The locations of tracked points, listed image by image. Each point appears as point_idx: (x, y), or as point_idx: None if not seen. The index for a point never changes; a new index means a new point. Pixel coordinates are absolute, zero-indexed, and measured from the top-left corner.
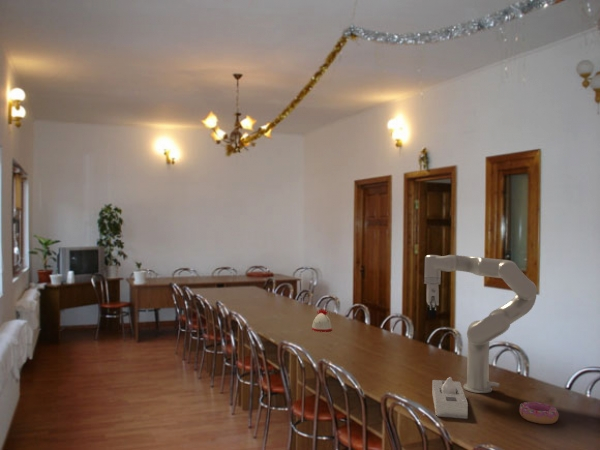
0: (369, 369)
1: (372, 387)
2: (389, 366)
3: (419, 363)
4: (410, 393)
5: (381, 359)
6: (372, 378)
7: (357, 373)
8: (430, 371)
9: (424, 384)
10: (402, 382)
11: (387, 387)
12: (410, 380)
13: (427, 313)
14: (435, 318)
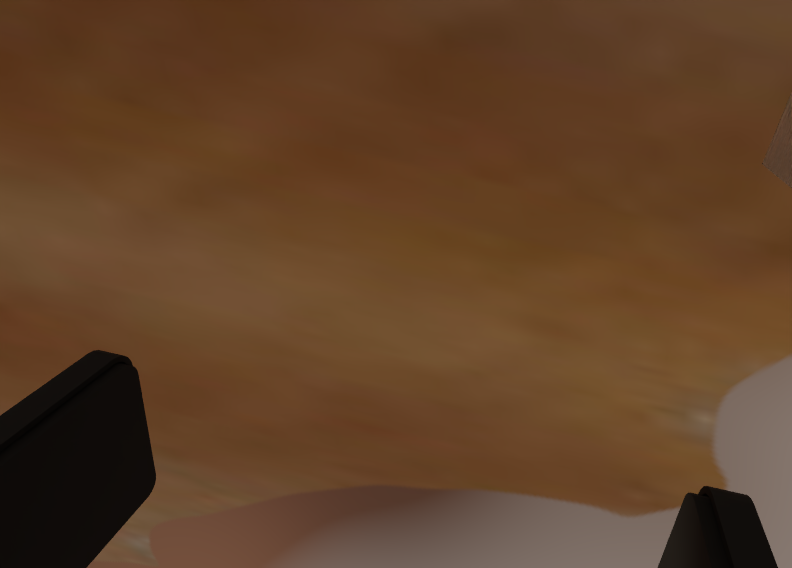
0: (266, 411)
1: (606, 476)
2: (178, 300)
3: (51, 103)
4: (749, 310)
5: (57, 311)
6: (432, 436)
7: (351, 479)
8: (214, 61)
9: (539, 173)
10: (499, 303)
11: (607, 406)
12: (450, 245)
13: (136, 506)
14: (741, 502)
